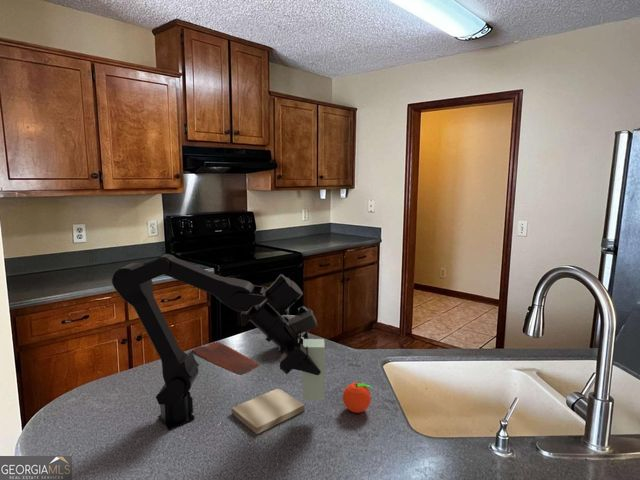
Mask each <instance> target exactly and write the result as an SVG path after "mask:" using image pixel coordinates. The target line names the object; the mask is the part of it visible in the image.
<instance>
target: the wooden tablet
mask: <svg viewBox="0 0 640 480" xmlns="http://www.w3.org/2000/svg"><path fill="white" fill-rule="evenodd" d="M215 342H216V343H215ZM211 343H212V344H211ZM193 349H194V350H193ZM193 349H192V350H191V352H192V353H193V354H196V355H197V356H199V357H201V358H203V359H205V360H207V361H208V362H211V363H213V364H214V365H217V366H218V367H221V368H223V369H225V370H228V371H230V372H232V373H235V374H237V375H244V374H247V373H250V372H252V371H253V370H255V369H257V368H258V367H259V366H260V364H259V363H258V362H256V361H255V360H254V359H251V358H249V357H248V356H246V355H245V354H243V353H240V352H239V351H238V350H236V349H234V348H232V347H231V346H230V347H229V346H228V345H226V344H224V343H223V342H222V343H221V342H219V341H213V342H209V344H208V345H205V346H204V345H203V347H202V346H197V347H195V348H193Z"/></svg>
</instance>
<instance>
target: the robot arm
mask: <svg viewBox="0 0 640 480" xmlns="http://www.w3.org/2000/svg"><path fill="white" fill-rule="evenodd" d="M160 276H168V277H170V278H172V279H174V280H176V281H179V282H182V283H184V284H186V285H189V286H192V287H194V288H196V289H199V290H202V291H204V292H205V293H208V294H211V295H212V296H214V297H215V298H216V299H217V300H218V301H220V303H221V304H223V305H225V306H226V307H228V308H229V309H231V310H233V311H235V312H239V313H240V312H241V313H240V319H241V321H240V326H241V327H244V326H245V325H246V324H248V322H249V321H250V323H252V324H253V325H254V326H255V327H256V328H257V329H258V330H259V331H260V332H262V334H264V335H265V340H266V341H267V342H268V343H269V342H270V341H271V342H272V343H273V344H274V345H275V346H277V348H278V347H279V348H278V352H279V353H280V354H281V356H280V360H279V369H280V370H281V371H282V372H283V373H284V374H285V375H288V374H289V373H290V372H291V371H293V370H295V371H300V372H303V371H304V372H307V373H311V374H314V375H319V374H320V373H321V371H320V370H319V368H318V367H317V366H316V364H315V363H314V362H313V361H312V359H311V358H310V357H309V355H308V346H307V347H306V348H305V347H304V346H303V339H309V331H310V330H314V329H316V328H317V327H318V323H317V322H318V320H317V319H316V316H315V315H314V311H313V310H312V309H311V308H307V307H306V306H304V305H302V306H299V307H298V308H297V314H295V315H294V316H295V317H293V318H291V319H290V318H289V317H288V316H285V314H283V315H282V314H280V313H281V312H287V310H288V309H289V308H290V307H292V306H293V305H294V304H295V303H296V301H298V300H299V299H300V298H301V297H302V296H303V295H304V294H303V291H302V289H301V288H300V287H299V285H298V284H297V283H296V282H294V280H291V279H290V278H289V277H286V276H285V275H284V274H282V273H280V274H279V275H278V277H276V279H275V281H273V283H271V285H270V286H269V287H268V286H262V285H255V284H253V283H251V282H250V281H249V280H246V279H240V278H236V277H229V276H228V277H225V276H222V275H218V274H215V273H213V272H211V271H208V270H206V269H204V268H202V267H200V266H196V265H194V264H193V263H189V262H188V261H185V260H182V259H180V258H177V257H176V256H174V255H173V254H169V253H165V254H164V255H161V256H159V257H158V258H155V259H152V260H150V261H146V262H145V263H140V262H133V263H129V264H127V265H126V266H123V267H121V268H119V269H118V270H116V271H115V272H114V273H113V276H112V278H111V284H112V287H113V288H114V290H115V291H116V292H117V294H118V295H119V296H120V298H122V300H124V301H125V302H126V303H128V304H129V305H130V306H132V307H133V309H134V311H135V313H136V314H137V317H138V318H139V320H140V322H141V324H142V326H143V328H144V330H145V331H146V334H147V335H148V337H149V340H150V341H151V344H152V345H153V347H154V350H155V351H156V353H157V355H158V357H159V359H160V361H161V370H162V371H161V374H162V379H163V381H164V384H163V386H162V387H161V388H160V390H159V392H158V393H157V394H156V395H155V399H156V402H157V404H158V405H159V409H160V410H159V411H160V415H158V419H159V421H160V422H161V423H162V424H163V425H164V427H165V428H166V429H167V430H172V429H174V428H177V427H179V426H181V425H182V426H183V425H184V424H186V423H188V422H191V421H193V420H195V419H196V418H195V415H194V414H193V413H194V400H193V397H192V396H191V392H190V390H191V389H192V386H193V385H194V383H195V381H196V379H197V378H198V376H199V366H200V363H198V362H197V360H196V358H195V355H194V352H193V351H189V352H188V353H186V352H185V351H183V350H182V349H181V348H180V346H179V344H178V342H177V340H176V338H175V336H174V334H173V332H172V330H171V329H170V326H169V324H168V323H167V320H166V318H165V317H164V314H163V312H162V310H161V309H160V307H159V304H158V303H157V300H156V299H155V296H154V286H153V285H154V283H153V279H155V278H158V277H160ZM279 312H280V313H279ZM282 316H283V317H282ZM285 350H286V351H285Z"/></svg>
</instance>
